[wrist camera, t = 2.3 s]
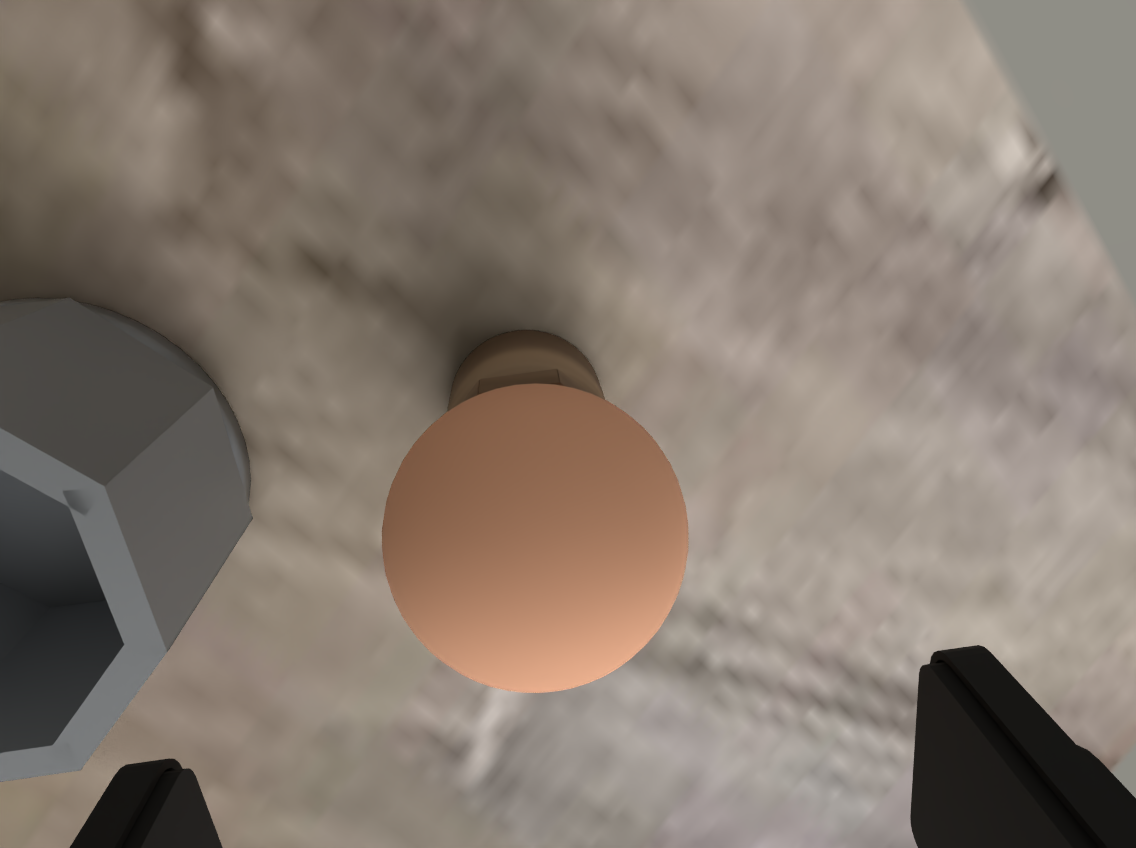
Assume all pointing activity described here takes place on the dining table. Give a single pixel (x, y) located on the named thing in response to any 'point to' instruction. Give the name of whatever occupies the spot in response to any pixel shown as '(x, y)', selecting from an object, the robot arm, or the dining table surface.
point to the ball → (535, 538)
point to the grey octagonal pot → (101, 519)
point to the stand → (523, 365)
